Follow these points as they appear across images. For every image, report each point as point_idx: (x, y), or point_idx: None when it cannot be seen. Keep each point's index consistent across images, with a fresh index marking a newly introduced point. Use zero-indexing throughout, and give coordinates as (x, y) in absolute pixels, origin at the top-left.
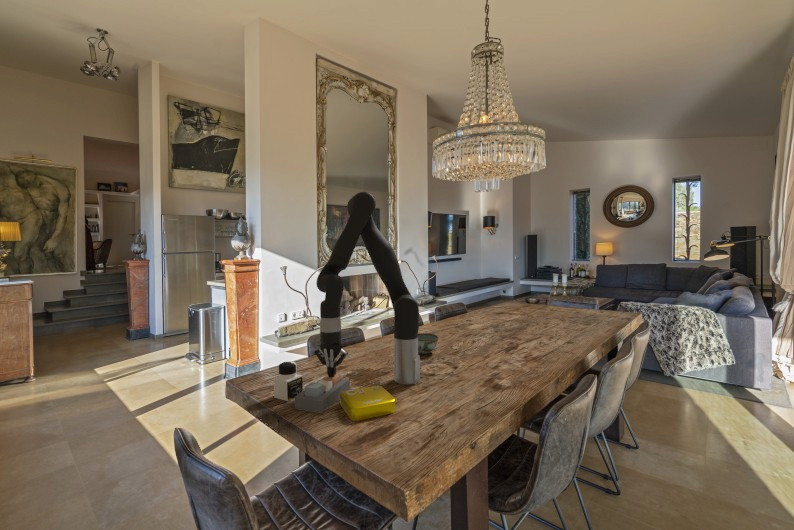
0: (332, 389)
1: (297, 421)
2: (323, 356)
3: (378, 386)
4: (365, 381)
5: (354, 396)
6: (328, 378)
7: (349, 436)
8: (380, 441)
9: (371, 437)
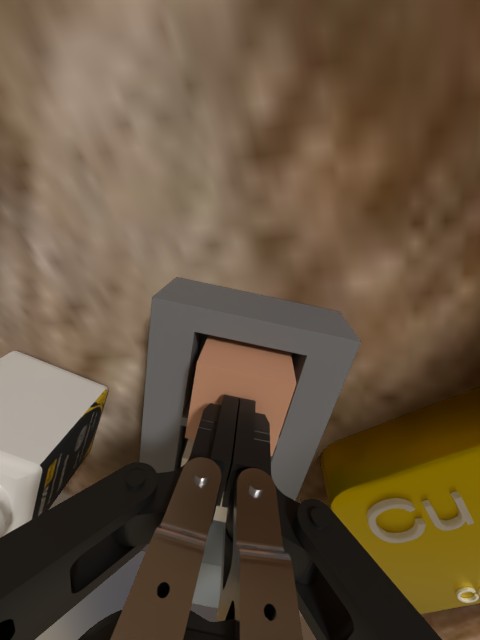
0: (279, 487)
1: None
2: (64, 577)
3: None
4: (448, 134)
5: (411, 544)
6: None
7: None
8: (473, 631)
9: (448, 619)
